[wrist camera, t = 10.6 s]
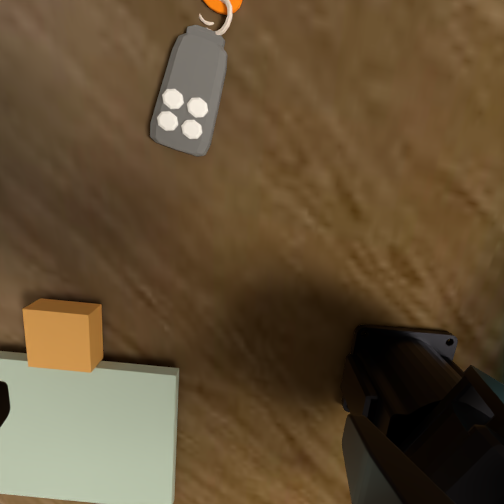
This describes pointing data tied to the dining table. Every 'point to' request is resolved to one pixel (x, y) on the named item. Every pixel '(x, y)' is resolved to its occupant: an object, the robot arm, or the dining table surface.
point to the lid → (85, 415)
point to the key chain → (193, 86)
